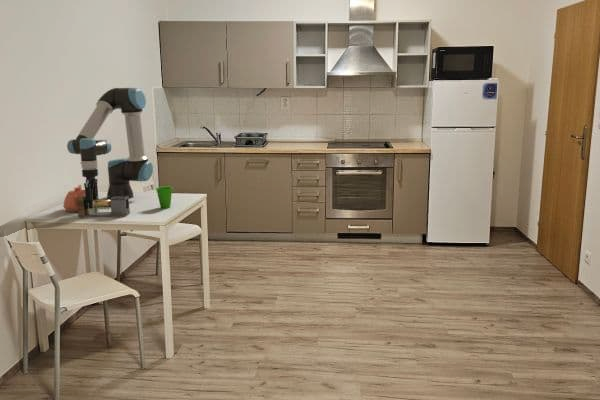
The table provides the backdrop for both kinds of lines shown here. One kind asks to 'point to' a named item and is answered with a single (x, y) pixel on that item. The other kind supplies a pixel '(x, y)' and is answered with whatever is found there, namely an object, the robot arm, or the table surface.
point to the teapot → (73, 199)
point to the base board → (103, 215)
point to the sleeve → (120, 205)
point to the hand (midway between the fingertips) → (93, 213)
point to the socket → (82, 206)
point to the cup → (164, 196)
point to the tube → (99, 204)
